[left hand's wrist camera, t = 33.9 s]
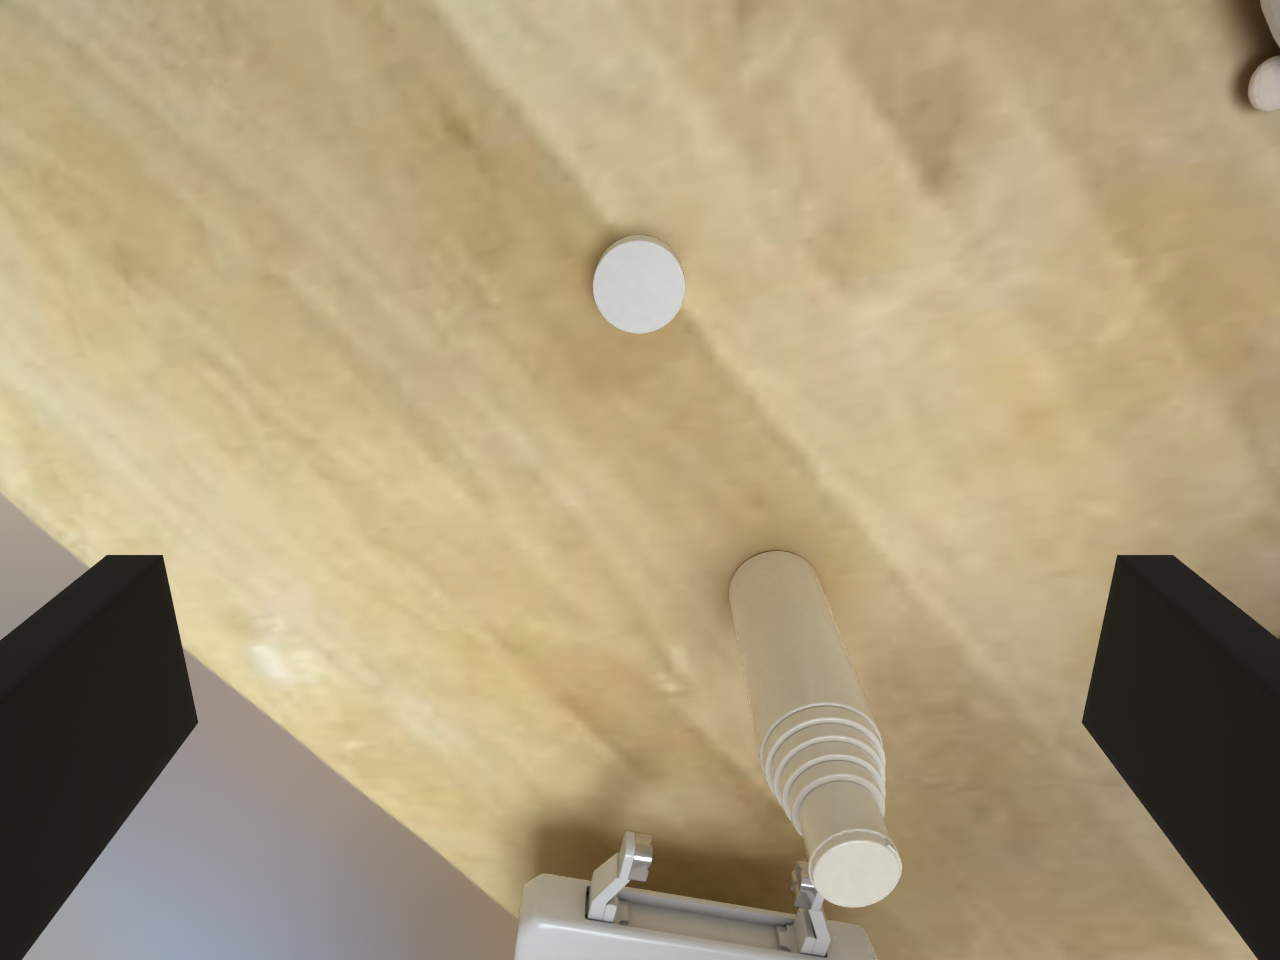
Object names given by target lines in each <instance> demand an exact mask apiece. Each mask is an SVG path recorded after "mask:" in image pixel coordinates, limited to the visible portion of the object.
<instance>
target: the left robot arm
mask: <svg viewBox="0 0 1280 960" xmlns="http://www.w3.org/2000/svg"><path fill="white" fill-rule="evenodd" d="M197 723H198V720H197V715H196V710H195V705H194V701H193V696H192V691H191V686H190V682H189V677H188V672H187V668H186V663H185V658H184V654H183V649H182V644H181V639H180V634H179V630H178V625H177V620H176V616H175V611H174V606H173V601H172V597H171V592H170V587H169V583H168V578H167V573H166V568H165V564H164V559H163V555H107V556H105V557H104V558H103V559H102V560H100V561H99V562H98V563H97V564H95V565H94V566H93V567H92V568H90V569H89V570H88V571H87V572H85V573H84V574H83V575H82V576H80V577H79V578H78V579H77V580H75V581H74V582H73V583H72V584H70V585H69V586H68V587H67V588H65V589H64V590H63V591H62V592H60V593H59V594H58V595H57V596H55V597H54V598H53V599H52V600H50V601H49V602H48V603H47V604H45V605H44V606H43V607H42V608H40V609H39V610H38V611H37V612H35V613H34V614H33V615H32V616H30V617H29V618H28V619H27V620H25V621H24V622H23V623H22V624H20V625H19V626H18V627H17V628H15V629H14V630H13V631H12V632H10V633H9V634H8V635H7V636H5V637H4V638H3V639H2V640H0V960H22V959H23V957H24V956H25V955H26V953H27V952H28V950H29V949H30V948H31V947H32V945H33V944H34V943H35V941H36V940H37V938H38V937H39V936H40V934H41V933H42V932H43V930H44V929H45V928H46V926H47V925H48V924H49V922H50V921H51V920H52V918H53V917H54V916H55V914H56V913H57V912H58V910H59V909H60V908H61V906H62V905H63V903H64V902H65V901H66V900H67V898H68V897H69V895H70V894H71V893H72V891H73V890H74V889H75V887H76V886H77V885H78V883H79V882H80V881H81V879H82V878H83V877H84V875H85V874H86V873H87V871H88V870H89V869H90V867H91V866H92V864H93V863H94V862H95V861H96V859H97V858H98V857H99V855H100V854H101V852H102V851H103V850H104V848H105V847H106V846H107V844H108V843H109V842H110V840H111V839H112V838H113V836H114V835H115V834H116V832H117V831H118V830H119V828H120V827H121V826H122V824H123V823H124V821H125V820H126V819H127V818H128V816H129V815H130V814H131V812H132V811H133V809H134V808H135V807H136V805H137V804H138V803H139V801H140V800H141V799H142V797H143V796H144V795H145V793H146V792H147V791H148V789H149V788H150V787H151V785H152V784H153V783H154V781H155V780H156V778H157V777H158V776H159V775H160V773H161V772H162V770H163V769H164V768H165V766H166V765H167V764H168V762H169V761H170V760H171V758H172V757H173V756H174V754H175V753H176V752H177V750H178V749H179V748H180V746H181V745H182V744H183V742H184V741H185V740H186V738H187V737H188V736H189V734H190V733H191V732H192V730H193V729H194V728H195V726H196V725H197ZM1082 723H1083V725H1084V726H1085V728H1086V729H1087V730H1088V732H1089V733H1090V734H1091V736H1092V737H1093V738H1094V740H1095V741H1096V742H1097V744H1098V745H1099V746H1100V748H1101V749H1102V750H1103V752H1104V753H1105V754H1106V756H1107V757H1108V758H1109V760H1110V761H1111V762H1112V764H1113V765H1114V766H1115V768H1116V769H1117V771H1118V772H1119V773H1120V775H1121V776H1122V777H1123V779H1124V780H1125V781H1126V783H1127V784H1128V785H1129V787H1130V788H1131V789H1132V791H1133V792H1134V793H1135V795H1136V796H1137V797H1138V799H1139V800H1140V801H1141V803H1142V804H1143V805H1144V807H1145V808H1146V809H1147V811H1148V812H1149V814H1150V815H1151V816H1152V818H1153V819H1154V820H1155V822H1156V823H1157V824H1158V826H1159V827H1160V828H1161V830H1162V831H1163V832H1164V834H1165V835H1166V836H1167V838H1168V839H1169V840H1170V842H1171V843H1172V844H1173V846H1174V847H1175V848H1176V850H1177V851H1178V852H1179V854H1180V855H1181V857H1182V858H1183V859H1184V861H1185V862H1186V863H1187V865H1188V866H1189V867H1190V869H1191V870H1192V871H1193V873H1194V874H1195V875H1196V877H1197V878H1198V879H1199V881H1200V882H1201V883H1202V885H1203V886H1204V887H1205V889H1206V890H1207V891H1208V893H1209V894H1210V895H1211V897H1212V898H1213V900H1214V901H1215V902H1216V904H1217V905H1218V906H1219V908H1220V909H1221V910H1222V912H1223V913H1224V914H1225V916H1226V917H1227V918H1228V920H1229V921H1230V922H1231V924H1232V925H1233V926H1234V928H1235V929H1236V930H1237V932H1238V933H1239V934H1240V936H1241V937H1242V938H1243V940H1244V941H1245V943H1246V944H1247V945H1248V947H1249V948H1250V949H1251V951H1252V952H1253V953H1254V955H1255V956H1256V957H1257V959H1258V960H1280V640H1278V639H1277V638H1276V637H1275V636H1273V635H1272V634H1271V633H1270V632H1268V631H1267V630H1266V629H1265V628H1263V627H1262V626H1261V625H1260V624H1258V623H1257V622H1256V621H1255V620H1253V619H1252V618H1251V617H1250V616H1248V615H1247V614H1246V613H1245V612H1243V611H1242V610H1241V609H1240V608H1238V607H1237V606H1236V605H1235V604H1233V603H1232V602H1231V601H1230V600H1228V599H1227V598H1226V597H1225V596H1223V595H1222V594H1221V593H1220V592H1218V591H1217V590H1216V589H1215V588H1213V587H1212V586H1211V585H1210V584H1208V583H1207V582H1206V581H1205V580H1203V579H1202V578H1201V577H1200V576H1198V575H1197V574H1196V573H1195V572H1193V571H1192V570H1191V569H1190V568H1188V567H1187V566H1186V565H1185V564H1183V563H1182V562H1181V561H1180V560H1178V559H1177V558H1176V557H1175V556H1173V555H1117V559H1116V564H1115V568H1114V573H1113V578H1112V583H1111V587H1110V592H1109V597H1108V601H1107V606H1106V611H1105V616H1104V620H1103V625H1102V630H1101V634H1100V639H1099V644H1098V649H1097V653H1096V658H1095V663H1094V668H1093V672H1092V677H1091V682H1090V686H1089V691H1088V696H1087V701H1086V705H1085V710H1084V715H1083V720H1082Z"/></svg>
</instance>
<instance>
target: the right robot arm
mask: <svg viewBox="0 0 1280 960" xmlns="http://www.w3.org/2000/svg"><path fill="white" fill-rule="evenodd" d="M652 842H653V836H652V835H648V834H642V833H637V832H630V831H625V834H624V837H623V841H622V845H621V849H620V852H619V853H618V852H617V853H616V854H614V855H613V856H612V857H611V858H609V859H608V860H607V861H606V862H604V863H603V864H602V865H601V866H599V867H598V868H597V869H596V870H594V872H593V876H592V880H591V881H590V880H584V879H578V878H571V877H565V876H559V875H554V874H548V873H543V874H540V875H538V876H536V877H535V878H533V879H532V880H530V881H529V882H528V883H526V885H525V886H524V890H523V896H522V902H521V907H520V913H519V919H518V927H517V935H516V943H515V950H514V960H878V958H877V955H876V952H875V949H874V947H873V944H872V942H871V940H870V938H869V937H868V935H867V933H866V932H865V930H864V929H863V928H862V927H861V926H859V925H856V924H851V923H845V922H839V921H833V920H827V919H826V917H825V913H824V909H823V906H822V904H823V901H824V898H823V897H822V896H821V895H820V894H819V893H818V891H817V890H816V889H815V888H814V886H813V884H812V883H811V881H810V877H809V873H808V863H809V862H807V861H800V860H796V862H795V864H794V868H795V870H793V871H792V872H791V875H790V878H789V885H790V890H791V891H792V892H793V894H792V900H793V905H794V906H795V907H799V909H798V912H797V914H790V913H784V912H778V911H772V910H766V909H760V908H754V907H748V906H742V905H736V904H730V903H723V902H717V901H711V900H705V899H699V898H693V897H687V896H681V895H675V894H669V893H663V892H657V891H650V890H644V889H638V888H632V887H626V886H625V885H626V884H628V883H629V882H630V881H631V880H636V881H643V882H646V880H647V876H648V873H649V867H650V866H651V862H652V857H653V846H652Z"/></svg>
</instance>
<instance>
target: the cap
mask: <svg viewBox="0 0 1280 960" xmlns="http://www.w3.org/2000/svg"><path fill="white" fill-rule="evenodd" d="M593 295H594V299H595V302H596V305H597V307H598V309H599V311H600V313H601V314H602V315H603V317H604V318H605V319H606V320H607V321H608V322H609V323H611V324H612V325H613V326H615V327H616V328H618V329H620V330H623V331H626V332H629V333H640V334H641V333H648V332H653V331H655V330H658V329H660V328H662V327H663V326H665V325H666V324H668V323H669V322H670V321H671V320H672V319H673V318H674V317H675V315H676V314H677V313H678V311H679V309H680V307H681V305H682V303H683V299H684V295H685V279H684V274H683V271H682V268H681V265H680V262H679V260H678V258H677V256H676V255H675V253H674V252H673V251H672V249H671V248H670V247H669V246H667V245H666V244H665V243H664V242H662V241H660V240H658V239H656V238H654V237H651V236H646V235H632V236H628V237H624V238H622V239H620V240H618V241H616V242H614V243H613V244H612V245H611V246H609V247H608V248H607V249H606V251H605V252H604V253H603V255H602V256H601V258H600V260H599V262H598V265H597V268H596V271H595V275H594V279H593Z"/></svg>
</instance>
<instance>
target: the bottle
mask: <svg viewBox="0 0 1280 960" xmlns="http://www.w3.org/2000/svg"><path fill="white" fill-rule="evenodd" d="M729 601H730V607H731V612H732V617H733V622H734V628H735V633H736V638H737V644H738V649H739V654H740V659H741V665H742V670H743V675H744V680H745V686H746V691H747V696H748V702H749V707H750V712H751V717H752V723H753V728H754V733H755V739H756V744H757V749H758V754H759V760H760V765H761V768H762V771H763V773H764V775H765V777H766V780H767V784H768V786H769V788H770V790H771V791H772V793H773V794H774V795H775V797H776V799H777V801H778V803H779V804H780V805H781V807H782V808H783V809H784V811H785V813H786V815H787V817H788V818H789V820H790V821H791V822H792V823H793V825H794V827H795V829H796V831H797V832H798V833H799V834H800V835H801V836H802V837H803V840H804V845H805V849H806V853H807V858H808V862H809V863H808V873H809V877H810V881H811V883H812V884H813V886H814V888H815V889H816V890H817V891H818V893H819V894H820V895H821V896H822V897H823V898H824V899H826V900H827V901H829V902H830V903H833V904H835V905H838V906H842V907H850V908H857V907H864V906H868V905H871V904H874V903H876V902H878V901H880V900H882V899H883V898H885V897H886V896H887V895H888V894H890V893H891V891H892V890H893V889H894V888H895V887H896V885H897V883H898V881H899V879H900V878H901V872H902V864H901V858H900V856H899V855H898V850H897V848H896V846H895V844H894V842H893V841H892V840H891V838H890V836H889V833H888V830H887V827H886V824H885V821H884V819H883V818H884V814H885V794H886V790H885V779H886V775H885V766H886V758H885V753H884V749H883V741H882V737H881V734H880V731H879V729H878V726H877V724H876V721H875V719H874V716H873V714H872V711H871V709H870V706H869V704H868V701H867V699H866V696H865V694H864V691H863V689H862V686H861V684H860V681H859V679H858V676H857V674H856V671H855V669H854V666H853V664H852V661H851V658H850V656H849V653H848V651H847V648H846V646H845V643H844V641H843V638H842V636H841V633H840V631H839V628H838V626H837V623H836V621H835V618H834V616H833V613H832V611H831V608H830V606H829V603H828V601H827V598H826V596H825V593H824V591H823V588H822V586H821V583H820V581H819V578H818V576H817V573H816V572H815V570H814V568H813V567H812V566H811V565H810V564H809V563H808V562H807V561H806V560H804V559H803V558H802V557H800V556H798V555H795V554H793V553H789V552H785V551H769V552H764V553H761V554H758V555H756V556H754V557H752V558H750V559H748V560H747V561H746V562H744V563H743V564H742V565H741V566H740V567H739V568H738V570H737V571H736V572H735V574H734V576H733V578H732V580H731V583H730V586H729Z"/></svg>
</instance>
